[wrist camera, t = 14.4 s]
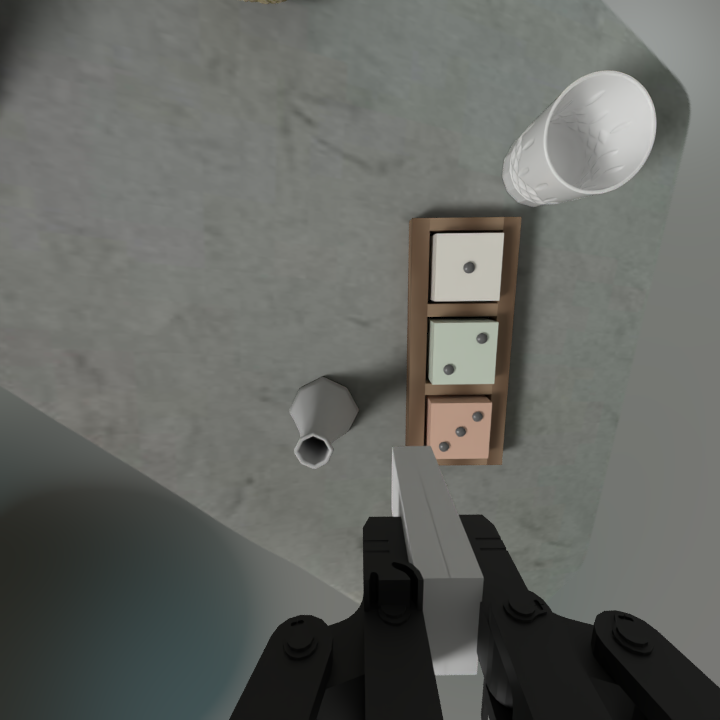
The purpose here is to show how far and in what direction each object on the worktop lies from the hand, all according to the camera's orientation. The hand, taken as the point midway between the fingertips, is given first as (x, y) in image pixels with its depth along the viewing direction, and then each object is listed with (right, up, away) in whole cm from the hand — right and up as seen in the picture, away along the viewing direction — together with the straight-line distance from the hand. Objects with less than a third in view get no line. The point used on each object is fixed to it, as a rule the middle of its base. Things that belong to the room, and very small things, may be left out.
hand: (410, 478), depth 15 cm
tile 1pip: (+8, +14, +23) cm, 28 cm away
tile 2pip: (+8, +6, +25) cm, 27 cm away
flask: (-6, -1, +28) cm, 28 cm away
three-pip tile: (+8, -2, +27) cm, 28 cm away
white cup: (+15, +23, +22) cm, 35 cm away
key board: (+8, +6, +26) cm, 28 cm away
